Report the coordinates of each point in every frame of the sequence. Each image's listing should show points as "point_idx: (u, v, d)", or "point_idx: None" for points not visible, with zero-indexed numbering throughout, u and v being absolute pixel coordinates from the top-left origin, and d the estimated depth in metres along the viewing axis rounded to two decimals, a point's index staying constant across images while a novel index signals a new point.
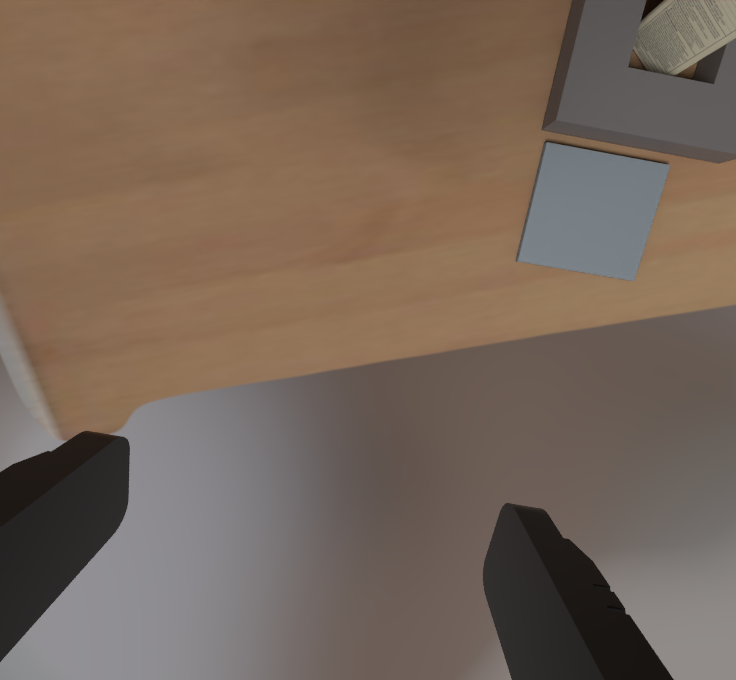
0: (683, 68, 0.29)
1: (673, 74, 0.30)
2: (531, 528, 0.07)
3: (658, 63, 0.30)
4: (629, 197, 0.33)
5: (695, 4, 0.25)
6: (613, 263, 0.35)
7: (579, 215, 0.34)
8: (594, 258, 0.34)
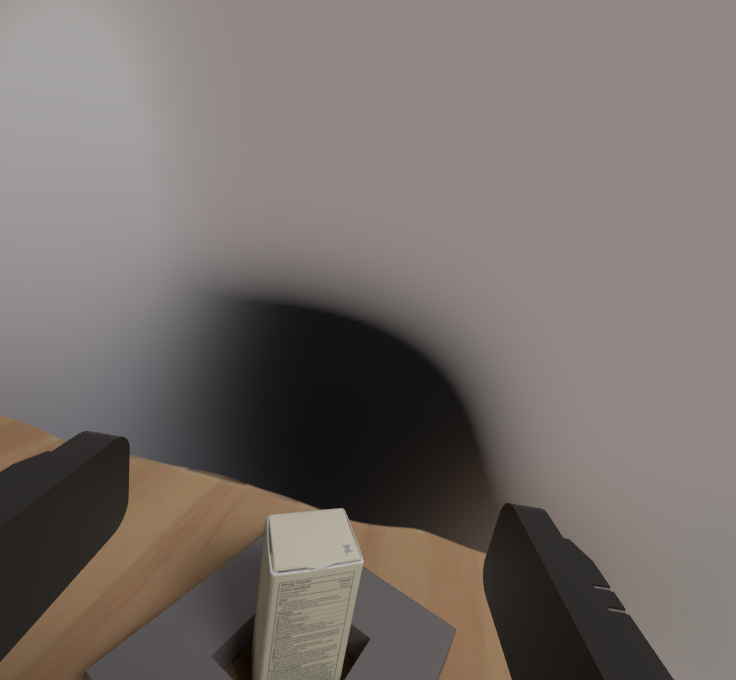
0: (340, 669, 0.23)
1: None
2: (531, 528, 0.07)
3: None
4: None
5: (292, 642, 0.21)
6: None
7: None
8: None
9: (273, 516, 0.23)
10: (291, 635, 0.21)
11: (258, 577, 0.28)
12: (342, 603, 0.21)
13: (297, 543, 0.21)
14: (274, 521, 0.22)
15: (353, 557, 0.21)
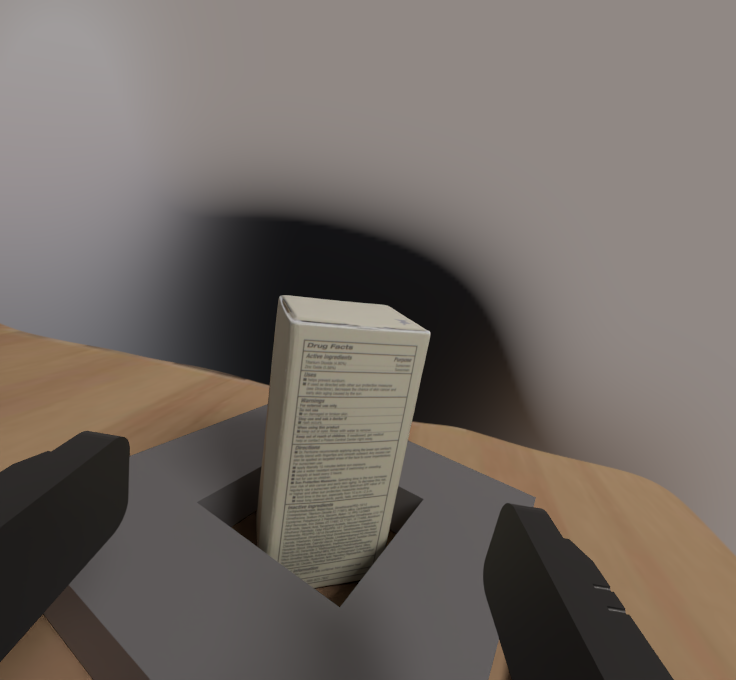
0: (389, 521, 0.15)
1: (384, 541, 0.16)
2: (531, 528, 0.07)
3: (351, 557, 0.15)
4: None
5: (322, 458, 0.13)
6: None
7: None
8: None
9: None
10: (320, 444, 0.13)
11: (264, 436, 0.21)
12: (397, 401, 0.14)
13: (329, 309, 0.14)
14: (291, 297, 0.15)
15: (414, 327, 0.14)
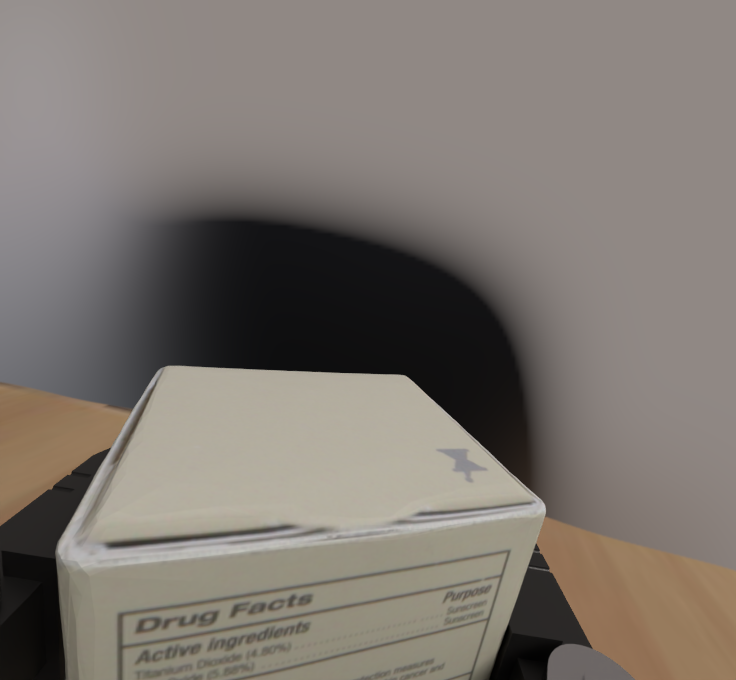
0: None
1: None
2: None
3: None
4: None
5: None
6: None
7: None
8: None
9: (182, 368, 0.07)
10: None
11: None
12: None
13: (254, 431, 0.05)
14: (178, 376, 0.06)
15: (498, 488, 0.05)
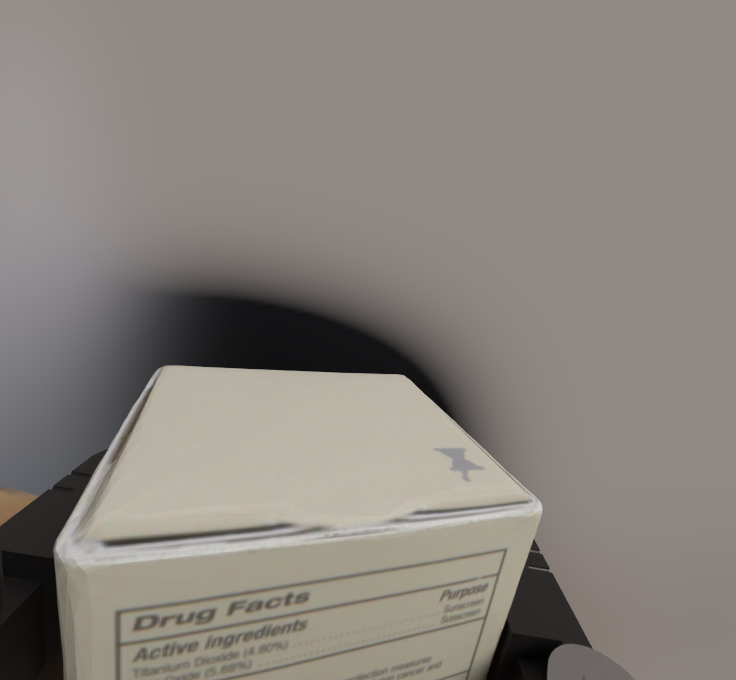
0: None
1: None
2: None
3: None
4: None
5: None
6: None
7: None
8: None
9: (180, 368, 0.07)
10: None
11: None
12: None
13: (253, 430, 0.05)
14: (177, 376, 0.06)
15: (495, 487, 0.05)
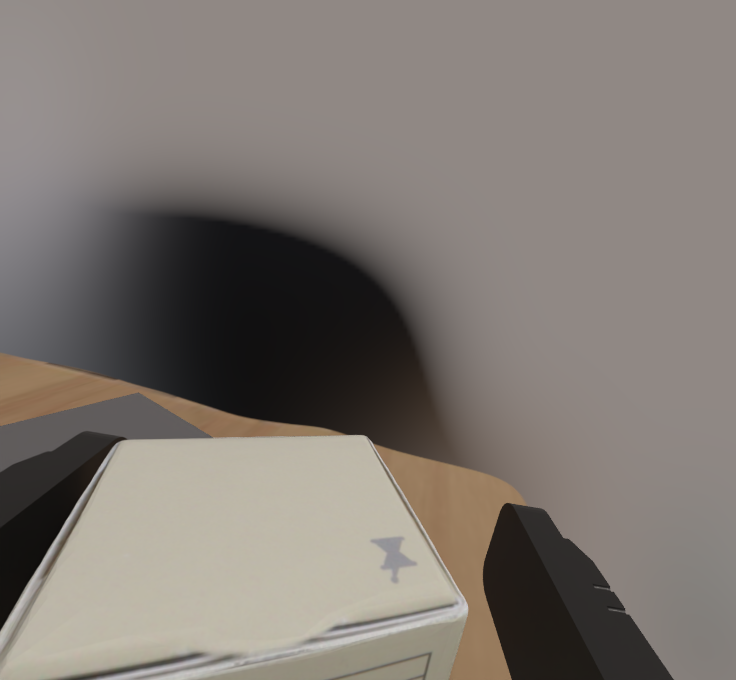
0: None
1: None
2: (531, 528, 0.07)
3: None
4: None
5: None
6: None
7: None
8: None
9: (136, 443, 0.07)
10: None
11: (52, 437, 0.20)
12: None
13: (190, 529, 0.05)
14: (130, 456, 0.06)
15: (422, 589, 0.05)
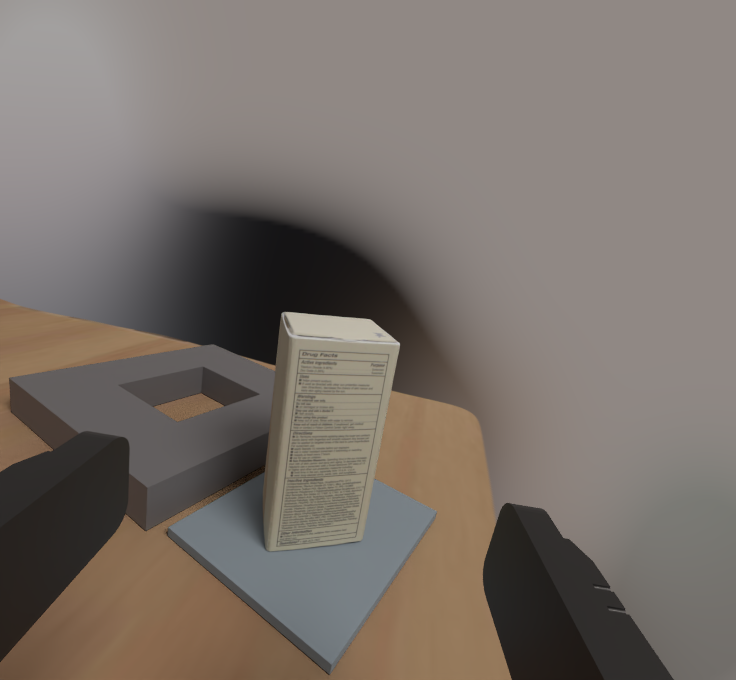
0: (369, 495, 0.19)
1: (366, 511, 0.19)
2: (531, 528, 0.07)
3: (338, 523, 0.19)
4: None
5: (313, 441, 0.17)
6: (403, 522, 0.22)
7: None
8: (386, 539, 0.20)
9: (290, 312, 0.19)
10: (312, 431, 0.17)
11: (173, 363, 0.33)
12: (373, 398, 0.17)
13: (320, 324, 0.17)
14: (291, 314, 0.19)
15: (387, 339, 0.17)
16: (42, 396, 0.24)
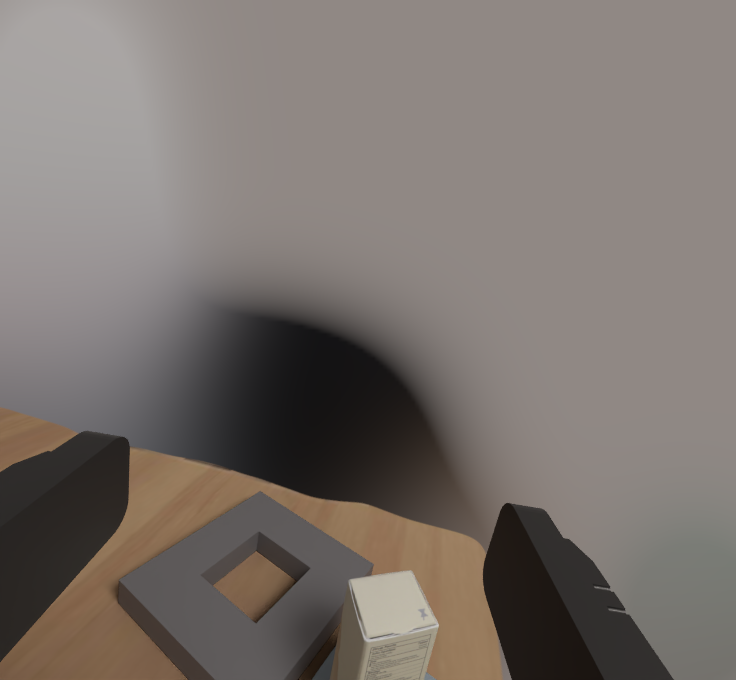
0: None
1: None
2: (531, 528, 0.07)
3: None
4: None
5: None
6: None
7: None
8: None
9: (354, 581, 0.26)
10: None
11: (235, 530, 0.39)
12: (419, 661, 0.24)
13: (380, 608, 0.24)
14: (356, 586, 0.25)
15: (429, 621, 0.24)
16: (150, 604, 0.31)
